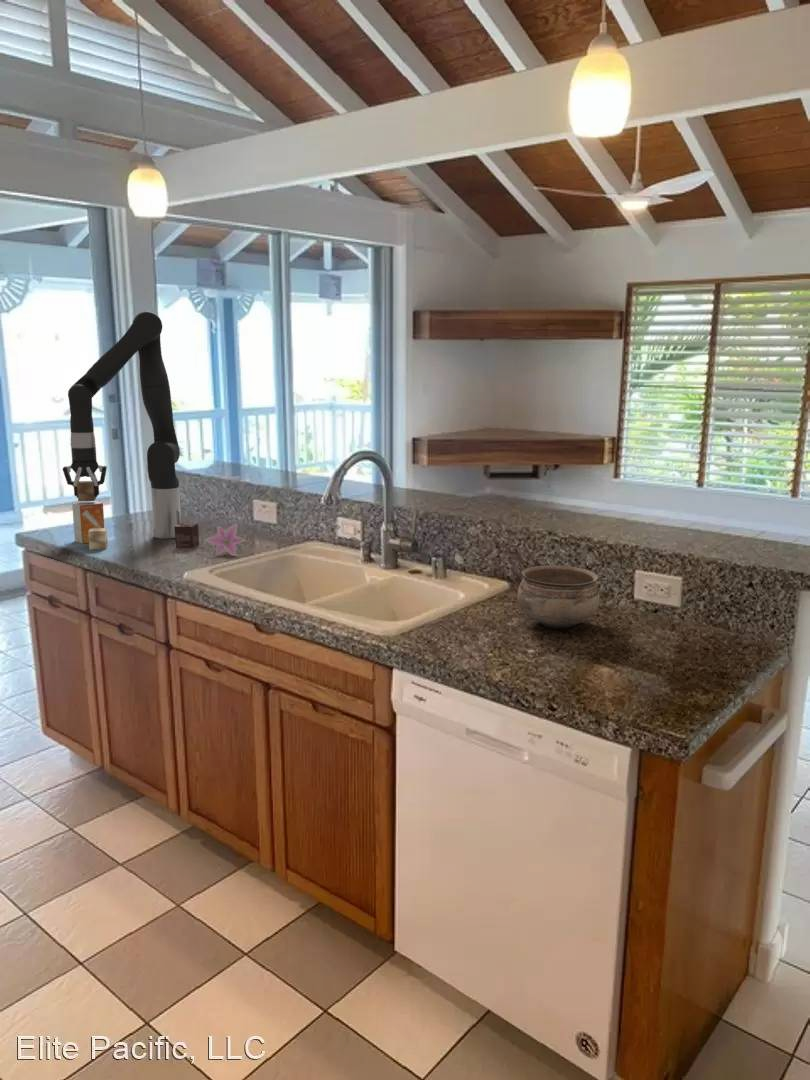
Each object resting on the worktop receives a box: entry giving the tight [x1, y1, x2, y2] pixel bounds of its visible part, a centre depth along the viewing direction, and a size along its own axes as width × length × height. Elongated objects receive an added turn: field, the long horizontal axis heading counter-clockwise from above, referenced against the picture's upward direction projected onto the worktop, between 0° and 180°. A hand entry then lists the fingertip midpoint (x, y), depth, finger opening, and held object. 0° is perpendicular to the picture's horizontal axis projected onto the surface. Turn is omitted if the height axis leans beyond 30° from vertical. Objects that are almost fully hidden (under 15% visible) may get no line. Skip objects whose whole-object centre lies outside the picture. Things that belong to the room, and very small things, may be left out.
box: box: [174, 522, 200, 549], centre depth 264 cm, size 6×6×7 cm
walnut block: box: [77, 480, 97, 502], centre depth 267 cm, size 5×5×6 cm
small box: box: [71, 500, 105, 545], centre depth 269 cm, size 8×6×13 cm
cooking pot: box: [517, 564, 601, 630], centre depth 188 cm, size 25×19×12 cm
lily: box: [205, 523, 246, 557], centre depth 256 cm, size 11×11×9 cm
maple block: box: [88, 527, 109, 551], centre depth 261 cm, size 5×5×6 cm
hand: (86, 496), depth 268 cm, fingers closed on walnut block, 5 cm apart
